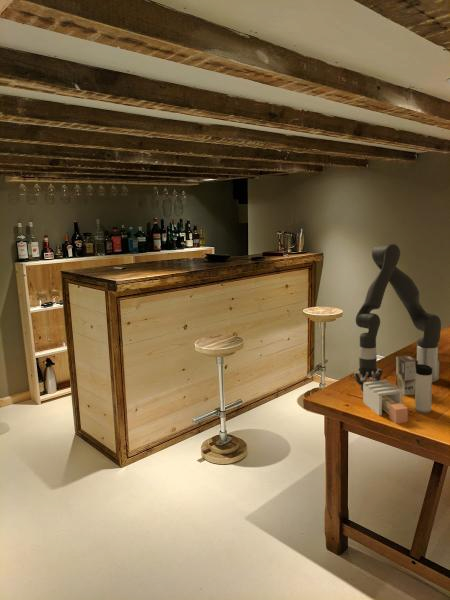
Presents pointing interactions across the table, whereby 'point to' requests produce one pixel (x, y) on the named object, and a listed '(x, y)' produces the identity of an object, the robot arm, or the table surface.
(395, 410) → the block
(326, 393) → the table surface
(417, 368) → the travel mug
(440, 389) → the table surface
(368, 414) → the table surface
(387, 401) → the rod
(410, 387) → the coffee box
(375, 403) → the tunnel
